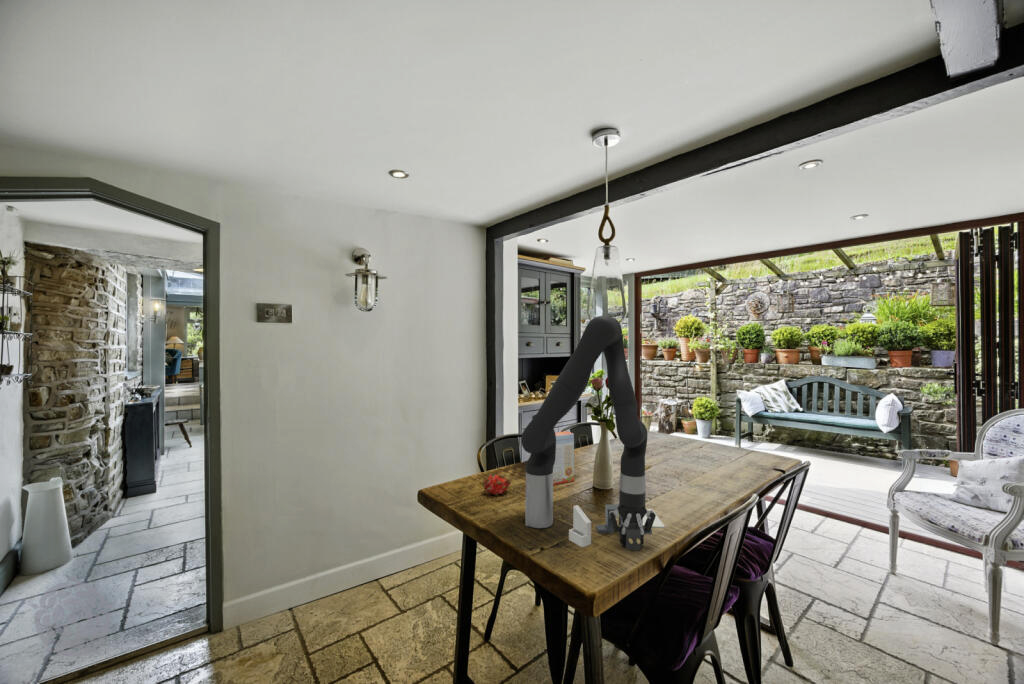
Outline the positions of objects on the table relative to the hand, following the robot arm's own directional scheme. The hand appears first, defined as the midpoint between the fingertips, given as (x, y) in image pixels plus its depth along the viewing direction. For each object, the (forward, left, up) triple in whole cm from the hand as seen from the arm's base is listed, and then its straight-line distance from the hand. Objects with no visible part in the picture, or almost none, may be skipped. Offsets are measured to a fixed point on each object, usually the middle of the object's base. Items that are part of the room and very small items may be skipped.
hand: (631, 545), depth 127 cm
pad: (+10, +20, 0) cm, 22 cm away
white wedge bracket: (-15, +2, -1) cm, 15 cm away
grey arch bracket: (0, +10, 0) cm, 10 cm away
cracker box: (-18, +55, -1) cm, 58 cm away
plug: (0, +3, 0) cm, 3 cm away
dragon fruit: (-43, +41, -1) cm, 60 cm away
